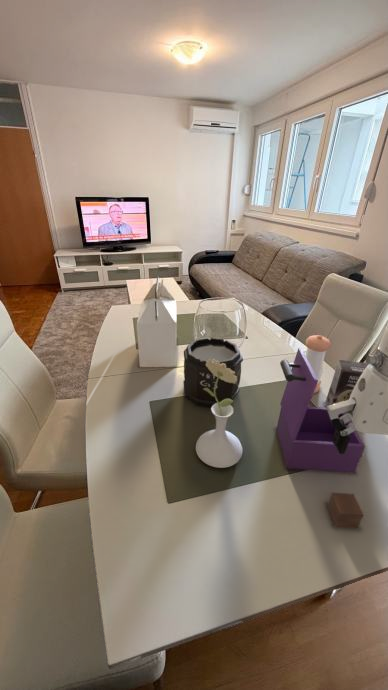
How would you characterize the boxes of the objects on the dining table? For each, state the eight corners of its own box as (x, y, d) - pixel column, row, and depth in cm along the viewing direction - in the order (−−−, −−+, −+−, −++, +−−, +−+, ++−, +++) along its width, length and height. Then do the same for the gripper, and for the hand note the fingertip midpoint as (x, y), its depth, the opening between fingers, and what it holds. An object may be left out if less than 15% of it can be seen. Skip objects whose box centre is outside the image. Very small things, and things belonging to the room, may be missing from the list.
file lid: (301, 348, 68) (280, 345, 68) (318, 380, 57) (292, 376, 57) (283, 403, 76) (264, 401, 76) (295, 441, 65) (272, 438, 65)
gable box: (176, 367, 107) (176, 292, 94) (139, 368, 106) (133, 292, 93) (176, 339, 127) (175, 273, 113) (145, 339, 126) (140, 273, 112)
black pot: (222, 371, 106) (225, 331, 98) (249, 401, 91) (255, 357, 84) (174, 381, 99) (173, 340, 92) (194, 416, 85) (196, 369, 77)
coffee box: (327, 417, 86) (341, 370, 78) (324, 403, 91) (337, 358, 83) (361, 423, 84) (380, 376, 76) (356, 408, 89) (373, 363, 82)
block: (348, 507, 62) (354, 493, 60) (357, 529, 58) (363, 515, 56) (326, 506, 62) (331, 492, 60) (334, 527, 58) (339, 513, 56)
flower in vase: (251, 460, 72) (265, 373, 60) (211, 480, 67) (218, 390, 55) (220, 426, 82) (227, 346, 70) (184, 441, 77) (184, 357, 65)
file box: (334, 433, 80) (343, 408, 76) (354, 473, 69) (365, 446, 65) (276, 430, 81) (281, 405, 77) (286, 469, 70) (292, 442, 65)
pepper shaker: (293, 389, 97) (305, 337, 88) (297, 378, 103) (309, 328, 94) (317, 396, 94) (331, 343, 85) (320, 384, 100) (334, 333, 91)
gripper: (353, 375, 40) (323, 463, 48) (486, 384, 39) (433, 472, 47) (333, 348, 47) (310, 430, 55) (447, 355, 46) (406, 437, 54)
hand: (367, 449), depth 51 cm, fingers open, 9 cm apart
